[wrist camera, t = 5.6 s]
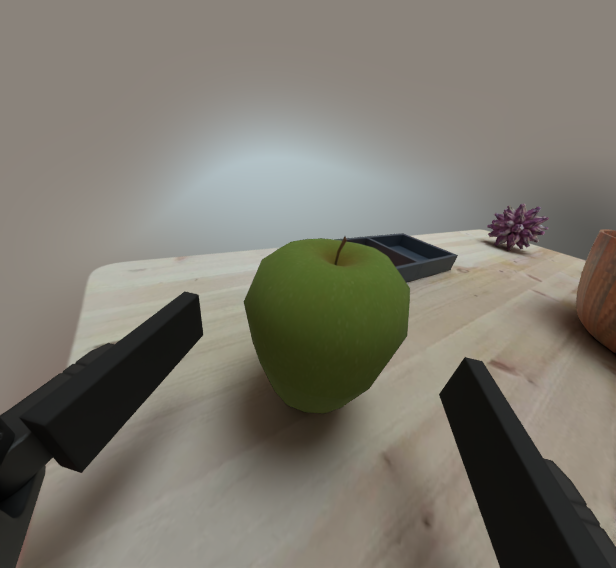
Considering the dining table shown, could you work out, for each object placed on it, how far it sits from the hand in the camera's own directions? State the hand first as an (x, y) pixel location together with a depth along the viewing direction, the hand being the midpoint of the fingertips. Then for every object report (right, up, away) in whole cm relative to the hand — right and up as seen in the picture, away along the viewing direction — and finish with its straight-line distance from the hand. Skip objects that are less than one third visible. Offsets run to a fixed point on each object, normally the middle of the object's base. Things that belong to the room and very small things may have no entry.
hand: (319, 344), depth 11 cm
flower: (+53, +13, +50) cm, 74 cm away
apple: (-1, -5, +5) cm, 7 cm away
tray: (+13, +6, +28) cm, 31 cm away
